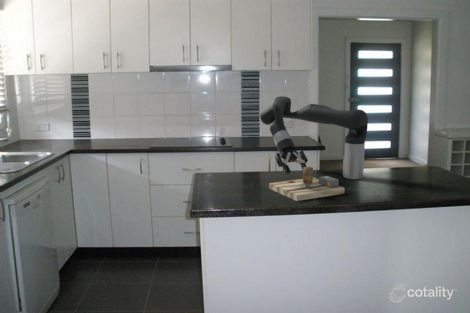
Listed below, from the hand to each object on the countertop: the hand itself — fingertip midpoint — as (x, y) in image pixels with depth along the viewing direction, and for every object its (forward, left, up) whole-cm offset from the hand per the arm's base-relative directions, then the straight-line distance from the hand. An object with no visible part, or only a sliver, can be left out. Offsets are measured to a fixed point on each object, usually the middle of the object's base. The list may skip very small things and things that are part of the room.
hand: (297, 172), depth 184 cm
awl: (+6, +1, -8) cm, 10 cm away
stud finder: (+6, +12, -6) cm, 14 cm away
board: (+2, +3, -8) cm, 9 cm away
